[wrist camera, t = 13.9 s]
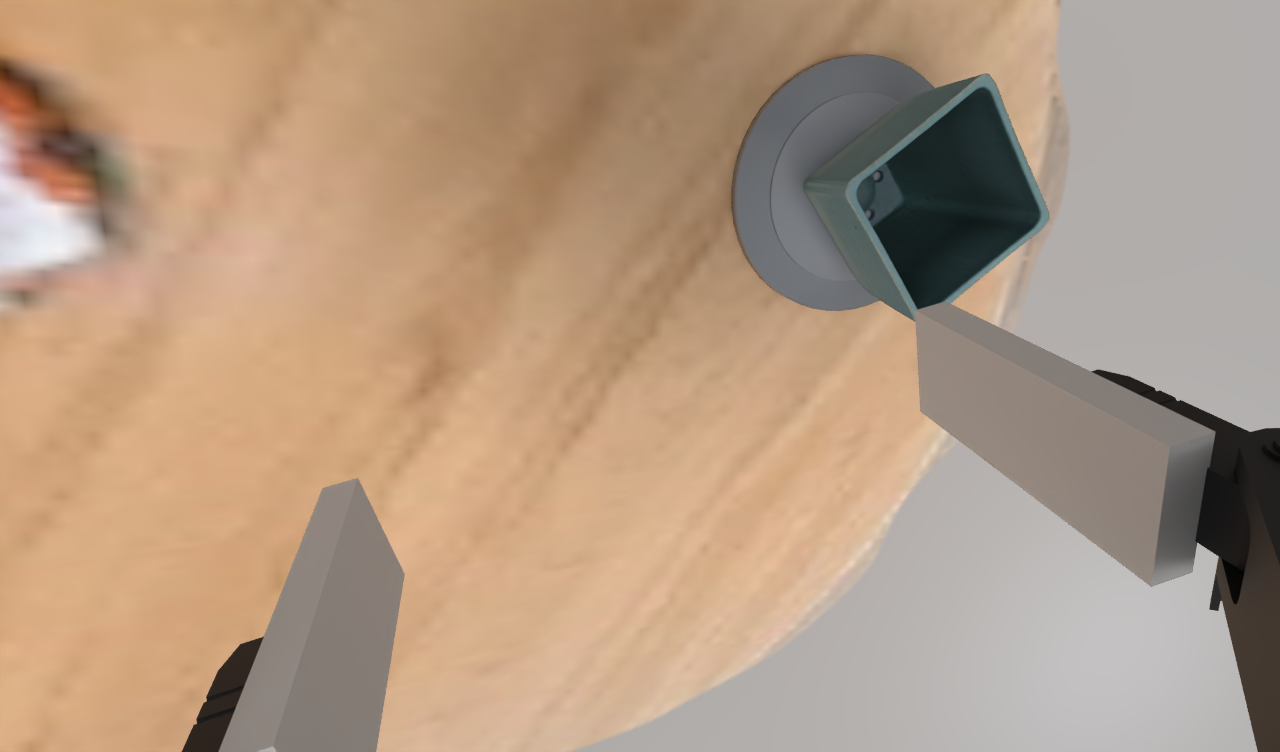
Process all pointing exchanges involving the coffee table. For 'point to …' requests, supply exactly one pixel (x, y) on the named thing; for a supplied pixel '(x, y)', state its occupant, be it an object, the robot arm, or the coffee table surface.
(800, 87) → the saucer
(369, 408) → the coffee table surface
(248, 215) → the coffee table surface
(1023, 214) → the flower pot
